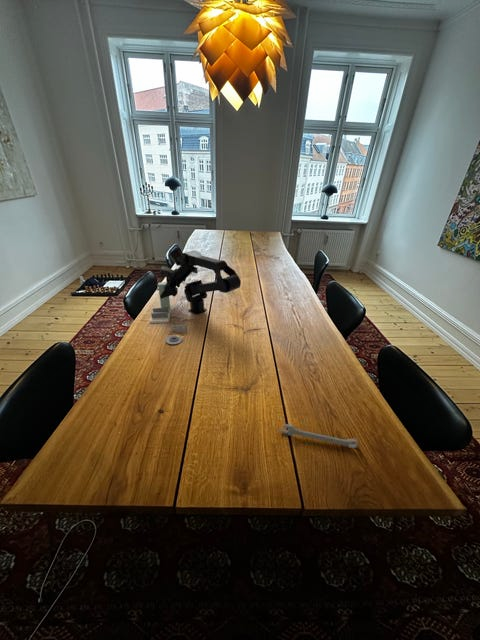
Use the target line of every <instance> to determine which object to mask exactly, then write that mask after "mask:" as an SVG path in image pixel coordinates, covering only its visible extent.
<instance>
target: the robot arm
mask: <svg viewBox="0 0 480 640" xmlns="http://www.w3.org/2000/svg"><path fill="white" fill-rule="evenodd" d="M169 257H170V258H171V260H172V261H173V263H174V264H175V265H176V266H177V267H178V266H179V267H178V268H175V269H172V268H170V267H167V266H165V265H162V266H161V268H160V271H159V273H158V274H159V276H160V277H164V278H166V282H165V283H166V284H165V285H164V291H163V292H162V294H161V295H159V299H160V298H161V299H162V298H165V297H168V296H169V297H170V296H172V297H174V298H175V297H176V296H177V295H178V293H179V288H180V287H181V284H182V283H183V282H186V281H187V279H188V277H189V276H190V275H191V274H192V273H193V274H198V267H201V268H204V269H207V270H211V271H213V272H214V275H215V281H210V282H203V281H202V279H200V280H197V279H196V280H194V281H191V282H187V283H186V285H185V286H184V289H183V290H184V294H185V298H186V301H187V302H188V303H189V306H190V308H188V309H187V310H188V312H191V313H193V314H194V315H197V316H198V315H199V314H201V313H204V312H206V311H207V308H205V299H207V298H208V294H207V293H210V292H216V291H217V292H218V291H219V292H220V293H224V294H227V293H229V292H233V291H235V290H238V289H240V288H241V283H242V282H241V281H242V280H241V279H240V277H239V275H238V273H237V272H236V270H235V269H234V268H231V267H230V266H229V265H228V264H227V262H226V261H225V260H223V259H217V258H213V257H209V256H205V255H203V254H202V253H201V252H199V251H197V250H191V251H188V252H187V251H186V252H184V251H182V249H181V248H180V247H179V246H177V247H175V248H174V249H173V250H171V252H170V253H169ZM222 271H223V272H224V273H225V274H227V275H228V276H226V277H223V276H222V273H221V272H222Z"/></svg>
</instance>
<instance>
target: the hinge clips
mask: <svg viewBox="0 0 480 640" xmlns="http://www.w3.org/2000/svg"><path fill="white" fill-rule="evenodd" d="M171 313H172V311H171V309H170V308H161V307H152V312H151V313H150V315H151V316H150V320H149V323H150V324H157V323H158V324H159V323H161V324H162V323H170V317H171Z"/></svg>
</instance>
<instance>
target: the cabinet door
mask: <svg viewBox="0 0 480 640" xmlns="http://www.w3.org/2000/svg"><path fill="white" fill-rule="evenodd" d="M165 284H166V282H158V284H157V288H156V291H157V292H158V293H159V294H158V295H159V296H160V295H161V294H162V292H163V291H164V285H165ZM159 300H160V308H169V309H170V308H171V303H170V301H171V300H170V296H168V297H165V298H162V299H161V298H160V297H159Z"/></svg>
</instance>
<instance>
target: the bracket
mask: <svg viewBox="0 0 480 640" xmlns="http://www.w3.org/2000/svg"><path fill="white" fill-rule="evenodd" d="M170 327H171V332H175V331H176V332H177V333H188V332H187V330H188V329H187V325H180V324H171V325H170ZM184 339H185V337H183V338H180V336H179V337H177V336H176V335H175V336H174V335H171V336H170V335H169V334H168V336H167V337H166V339H165V343H166V344H168V345H169V344H170V345H177V344H181V343H182V342H183V340H184ZM181 341H182V342H181Z"/></svg>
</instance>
